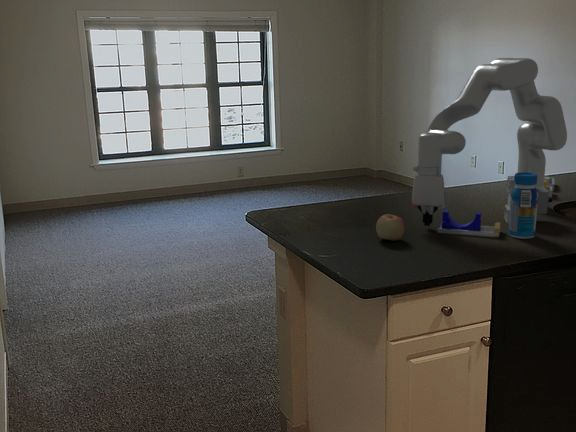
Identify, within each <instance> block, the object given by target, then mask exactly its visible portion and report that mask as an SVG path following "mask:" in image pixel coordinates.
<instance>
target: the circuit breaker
mask: <svg viewBox="0 0 576 432" xmlns="http://www.w3.org/2000/svg"><path fill="white" fill-rule="evenodd" d="M514 176H515V175H507V179H506V185H505V186H506V187H505V188H506V191H507V194H508V193H509V195H508V196H507V197H508V198H507V204H505V205H504V216H503V218H504V220H505V222H506V224H509V216H510V200H511V199H512V197H511V192H512V190H513V189H514V187H515V186H516V185H515V184H514ZM534 187H535V186H534ZM535 188H536V190H537V192H538V198H537V201H538V208H537V214H540V215H541V214H546V215H547V213H548V206H549V205H548V203H553V198H551V197H548V194H549V192H548V191H547V190H546V189H545V187H535Z"/></svg>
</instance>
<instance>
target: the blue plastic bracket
mask: <svg viewBox="0 0 576 432" xmlns="http://www.w3.org/2000/svg"><path fill="white" fill-rule="evenodd" d="M449 211H450V210H449V209H443V211H442V217H441V218H442V220H441V223H442V227H441V226H440V227H441V228H444V229H457V230H470V231H480V229H481V226H482V212H479V211H476V213H475V217H474V219H473V220H471V221H470V222H468V223H458V222H456V221H455V220H453V219H452V217H451V216H450V212H449ZM474 227H477V228H478V229H475V228H474Z"/></svg>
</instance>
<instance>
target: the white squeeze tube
mask: <svg viewBox="0 0 576 432" xmlns="http://www.w3.org/2000/svg"><path fill="white" fill-rule="evenodd" d="M501 224H502V223H501V222H497V221H496V222H495V223H494V226H490V225H481V229H480V231H470V230H457V229H444V228H441V227H442V222H440V227H437V234H444V235H445V234H446V235H455V236H457V235H458V236H470V237H482V238H495V239H496V238H497V239H499V237H500V232H501ZM474 228H475V229H478V228H477V227H474Z"/></svg>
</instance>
